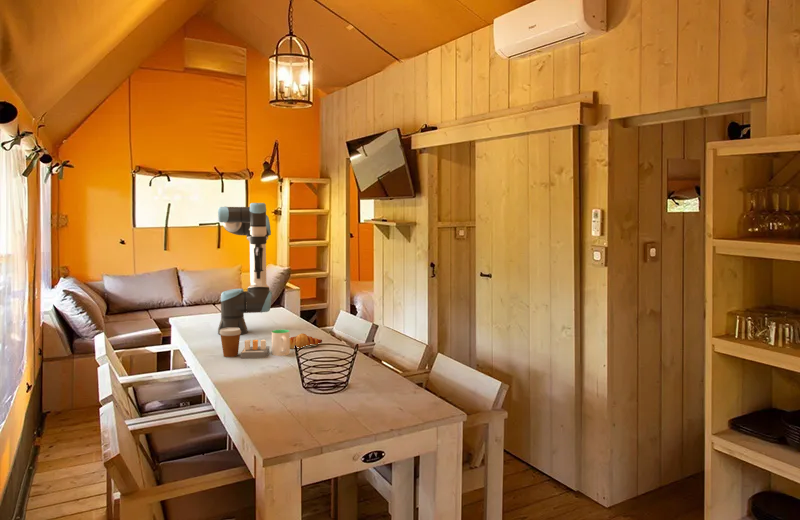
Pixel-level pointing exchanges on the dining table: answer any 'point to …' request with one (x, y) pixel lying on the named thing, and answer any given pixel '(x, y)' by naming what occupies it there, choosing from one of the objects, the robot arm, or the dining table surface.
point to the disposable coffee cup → (230, 341)
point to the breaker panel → (255, 353)
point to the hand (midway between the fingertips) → (258, 285)
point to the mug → (280, 342)
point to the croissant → (303, 341)
